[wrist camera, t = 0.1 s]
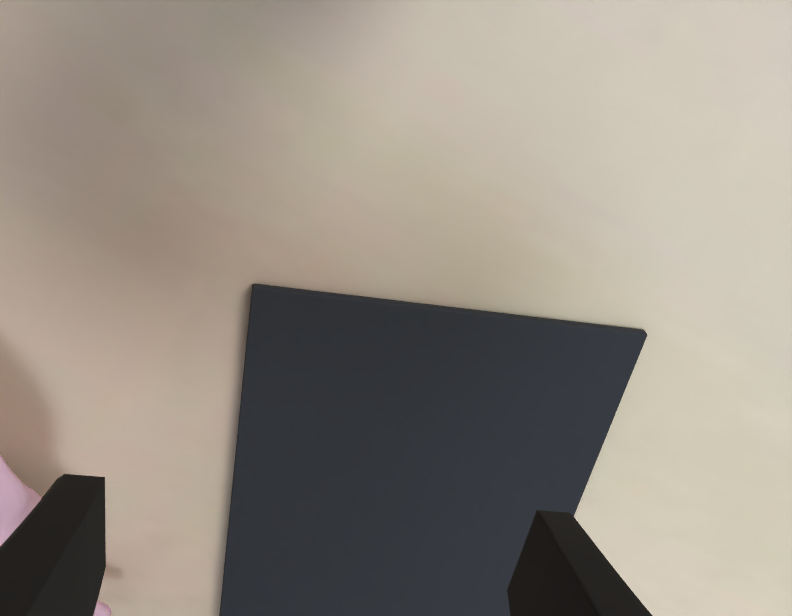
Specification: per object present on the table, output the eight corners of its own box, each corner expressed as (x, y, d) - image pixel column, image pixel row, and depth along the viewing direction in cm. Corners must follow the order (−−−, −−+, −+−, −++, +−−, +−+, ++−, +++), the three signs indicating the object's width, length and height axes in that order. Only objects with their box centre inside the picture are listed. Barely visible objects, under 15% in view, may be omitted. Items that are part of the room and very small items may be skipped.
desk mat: (489, 713, 33) (491, 719, 33) (210, 705, 31) (209, 712, 31) (644, 329, 23) (647, 334, 23) (252, 283, 21) (252, 288, 21)
